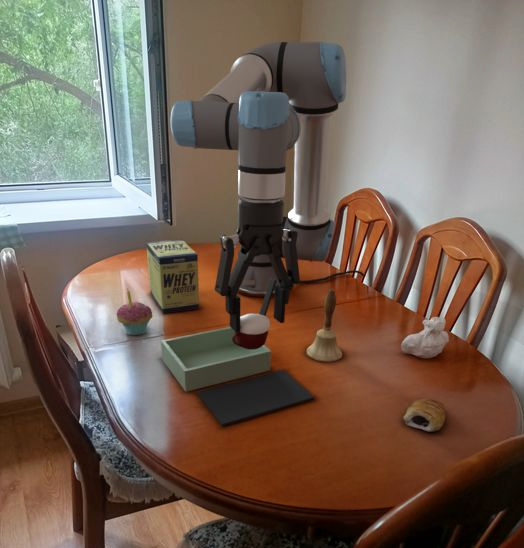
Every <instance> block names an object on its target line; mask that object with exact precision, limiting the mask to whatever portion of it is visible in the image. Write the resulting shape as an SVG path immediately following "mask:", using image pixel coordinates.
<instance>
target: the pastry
mask: <svg viewBox="0 0 524 548" xmlns="http://www.w3.org/2000/svg"><path fill="white" fill-rule="evenodd" d="M445 408H446V407H445V404H444V403H443V402H441V401H440V400H437V399H436V398H433V397H426V398H421V399H417V400H416V401H414V402H413V403H412V404H411V405H409V406H408V407H407V409H406V412H405V414H404V415H403V421H404V422H405V425H407V426H408V427H411V428H414V429H418V430H422V431H425V432H430V433H433V432H438V431H439V430H441V428H443V426H444V423H445V420H446V416H447V415H446V410H445Z"/></svg>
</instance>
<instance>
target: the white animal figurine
mask: <svg viewBox="0 0 524 548" xmlns="http://www.w3.org/2000/svg"><path fill="white" fill-rule="evenodd" d="M446 323H447V321H446V318H444V317H441V318H440V317H439V316H432V317H431V318H430V319H428V318H427V319H426V318H425V319H423V320H422V325H423V326H424V329H423V330H421V331H419V332H418V333H411V334H409V335H408V336H406V337H405V338H404V339H403V340H402V341H401V345H400V347H401V351H402V353H404V354H406V355H407V354H409V355H413V356H415V357H418V358H421V359H432V358H435V357H437V356H438V355H439V354H441V353H443V349H444V348H445V346H446V345H447V344H448V343H449V342H450V340H449V338H450V336H449V333H448V332H447V331H445V330H444V329H445V327H446Z"/></svg>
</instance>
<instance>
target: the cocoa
mask: <svg viewBox="0 0 524 548" xmlns="http://www.w3.org/2000/svg"><path fill="white" fill-rule="evenodd" d="M275 285H276V279H273V278H271V279H270V281H269V284H268V287H267V291H266V294H265V297H263V301H262V304H261V307H260V309H259V313H246V314H244V315H240V332H237V333H236V332H235V334H234V335H233V337H232V341H233V343H234V344H236V345H237V346H240V347H243V348H245V349H249V350H254V349H258V348H260V347H262V346H263V345H265V344H266V342H267V339H268V334H269V330H270V329H271V328H270V327H271V320H270V319H269V317H268V316H267V313H268V310H269V306H270V304H271V300H272V298H273V296H272V294H273V291H274V288H275ZM235 337H236V341H237V342H238V343H237V342H236V341H235Z"/></svg>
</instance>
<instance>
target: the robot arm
mask: <svg viewBox="0 0 524 548" xmlns="http://www.w3.org/2000/svg"><path fill="white" fill-rule="evenodd" d="M346 95H347V63H346V55H345V51H344V49H343V47H342V46H341V45H340V44H339V43H335V42H334V43H333V42H325V41H272V42H268V43H264V44H262V45H259V46H257V47H254V48H252V49H250V50H248V51H246V52H245V53H243V54H242V55H241V56H239V57H238V58H237V59H236V60H235V61H234V62H233V64H232V66H231V68H230V72H229V73H227V74H226V76H224V77H223V78H222V79H221V80H220V81H219V82H218V83H217V84H215V85H214V86H213V87H212V88H210V90H209V91H208V92H207V93H205V94H204V95H203V96H202V97H201V98H200V99H198V100H192V99H188V100H178V101H176V102H175V103H174V105H173V106H172V108H171V113H170V130H171V135H172V138H173V140H174V142H175V143H176V144H177V145H178V146H180V147H183V148H184V147H185V148H193V149H195V150H196V149H202V150H203V149H204V150H205V149H206V150H222V151H223V150H225V151H238V170H237V171H238V174H237V176H238V178H237V182H238V183H237V191H238V192H237V195H238V196H239V197H240V198H239V199H238V201H237V222H238V224H237V225H238V227H237V230H236V233H235V234H230V235H225V234H222V235H221V236H220V238H219V240H220V247H221V251H220V257H219V262H218V266H217V267H218V268H217V273H216V278H215V285H214V291H215V292H216V293H217V294H218V295H220V297H224V298H225V312H226V313H227V314H228V315H229V327H231V328H232V329H233V330H234V331H235V332H236V333H237V332H240V316H241V296H239V295H238V293H239V294H241V295H243V296H246V297H247V296H248V297H253V298H264V297H265V294H266V291H267V287H268V284H269V281H270V279H271V278H273V279H276V285H275V288H274V291H273V294H272V297H274V300H273V319H274V320H276V321H277V322H278V323H280V324H284V323H285V316H286V305H289V301H290V291H292V290H293V289H294V287H295V284H296V285H298V284H307V283H316V282H321V281H326V280H329V279H331V278H334V277H336V276H342V275H347V274H359V275H361V276H362V277H365V276H366V275H365V273H363V272H362V271H360V270H355V269H354V270H353V269H352V270H346V271H341V272H335V273H333V274H330V275H327V276H325V277H321V278H316V279H315V278H314V279H307V280H305V279H303V280H301V278H300V268H299V261H308V262H311V263H312V262H325V261H326V260H327V258H328V256H329V253H330V249H331V245H332V240H333V236H334V232H335V226H336V221H335V220H333V219H331V213H330V210H328V209H326V204H327V190H328V189H327V186H328V173H329V171H328V170H329V157H330V156H329V154H330V139H331V123H332V117H333V115H335V114H336V113H337V112H338V110H339V104H341V103H344V102H345V100H346ZM293 147H294V167H293V168H294V169H293V170H294V171H293V172H294V173H293V175H294V177H293V208H292V209H290V210H289V211H288V213H287V216H284V210H285V209H284V208H285V202H284V201H283V200H282V199H283V198H284V197H285V196H286V194H285V193H286V169H287V167H286V165H287V164H286V163H287V153H288V151H289V150H291V149H292V148H293ZM237 244H239V245H240V248H239V250H238V253H237V258H236V260H235V263H234V258H235V250H236V249H237ZM282 259H284V261H285V263H284V262H283V260H282ZM233 263H234V266H233Z"/></svg>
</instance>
